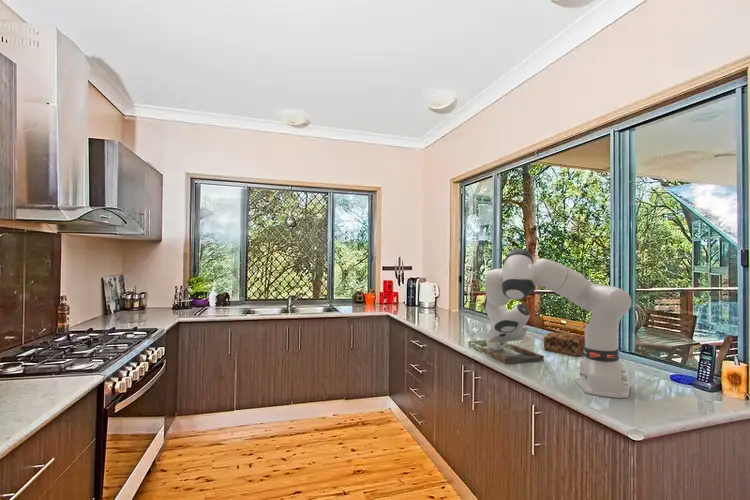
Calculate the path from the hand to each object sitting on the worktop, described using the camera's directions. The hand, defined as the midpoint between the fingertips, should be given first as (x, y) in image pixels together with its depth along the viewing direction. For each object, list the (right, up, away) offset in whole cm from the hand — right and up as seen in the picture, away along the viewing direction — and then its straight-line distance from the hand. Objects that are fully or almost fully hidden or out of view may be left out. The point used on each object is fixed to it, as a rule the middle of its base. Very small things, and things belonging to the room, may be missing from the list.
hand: (500, 343), depth 206 cm
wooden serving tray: (+1, -4, -2) cm, 5 cm away
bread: (+33, -4, -2) cm, 34 cm away
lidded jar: (-1, -5, +6) cm, 7 cm away
